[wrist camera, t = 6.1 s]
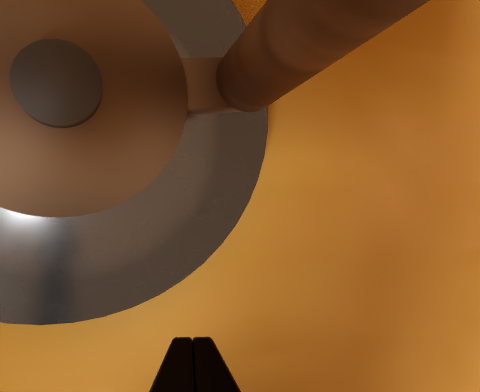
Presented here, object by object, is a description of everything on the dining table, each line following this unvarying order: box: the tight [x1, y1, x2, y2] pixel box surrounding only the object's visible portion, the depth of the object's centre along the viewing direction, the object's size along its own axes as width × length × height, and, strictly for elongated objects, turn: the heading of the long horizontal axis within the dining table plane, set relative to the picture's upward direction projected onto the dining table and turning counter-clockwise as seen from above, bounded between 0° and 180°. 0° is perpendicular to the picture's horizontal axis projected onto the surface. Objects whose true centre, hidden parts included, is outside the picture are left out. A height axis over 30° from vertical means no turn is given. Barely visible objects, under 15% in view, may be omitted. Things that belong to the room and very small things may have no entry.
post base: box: [0, 0, 268, 325], centre depth 15 cm, size 17×17×5 cm
